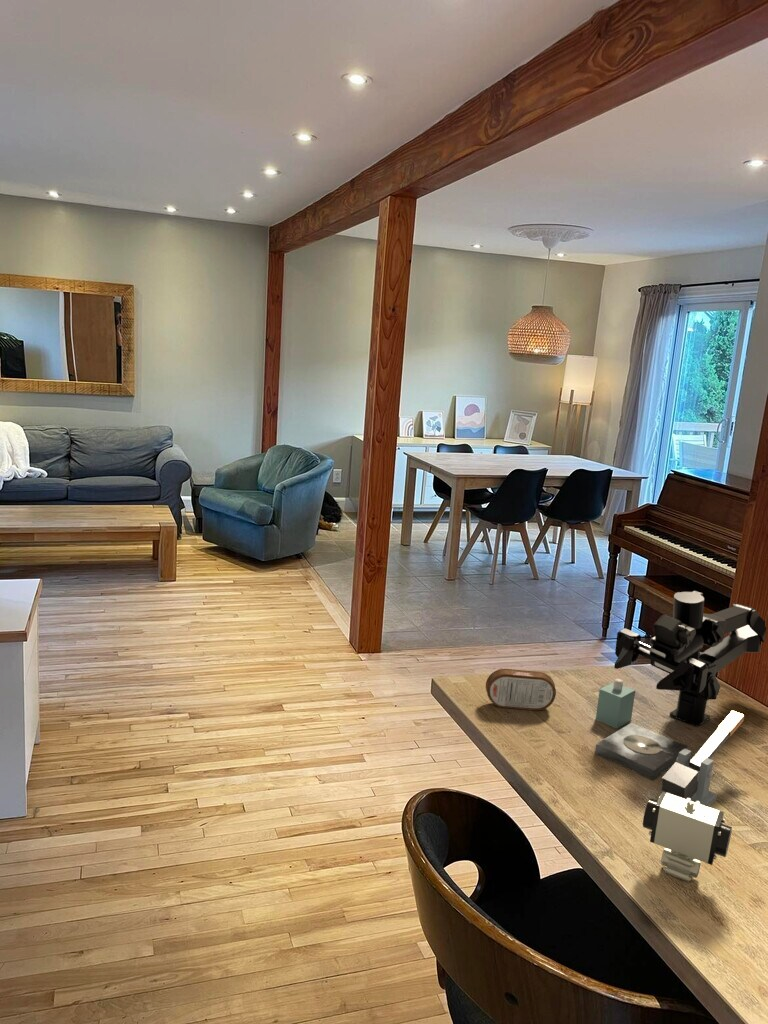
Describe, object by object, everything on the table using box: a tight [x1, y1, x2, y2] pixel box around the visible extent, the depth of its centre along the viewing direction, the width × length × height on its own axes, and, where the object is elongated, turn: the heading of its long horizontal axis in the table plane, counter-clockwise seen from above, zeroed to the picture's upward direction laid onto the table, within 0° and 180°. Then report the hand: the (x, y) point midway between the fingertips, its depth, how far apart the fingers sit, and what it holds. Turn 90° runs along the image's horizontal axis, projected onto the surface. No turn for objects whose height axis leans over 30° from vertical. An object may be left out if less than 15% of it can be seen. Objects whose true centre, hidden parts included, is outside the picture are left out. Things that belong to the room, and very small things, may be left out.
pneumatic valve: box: [642, 790, 733, 883], centre depth 115 cm, size 6×12×12 cm, turn 58°
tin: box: [485, 668, 557, 711], centre depth 166 cm, size 15×3×8 cm, turn 87°
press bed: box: [594, 722, 689, 781], centre depth 150 cm, size 14×12×2 cm
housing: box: [595, 678, 636, 729], centre depth 163 cm, size 6×5×9 cm
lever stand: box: [676, 748, 718, 807], centre depth 136 cm, size 6×7×8 cm
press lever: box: [661, 710, 745, 799], centre depth 138 cm, size 26×4×4 cm, turn 134°
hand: (635, 676), depth 148 cm, fingers open, 9 cm apart
